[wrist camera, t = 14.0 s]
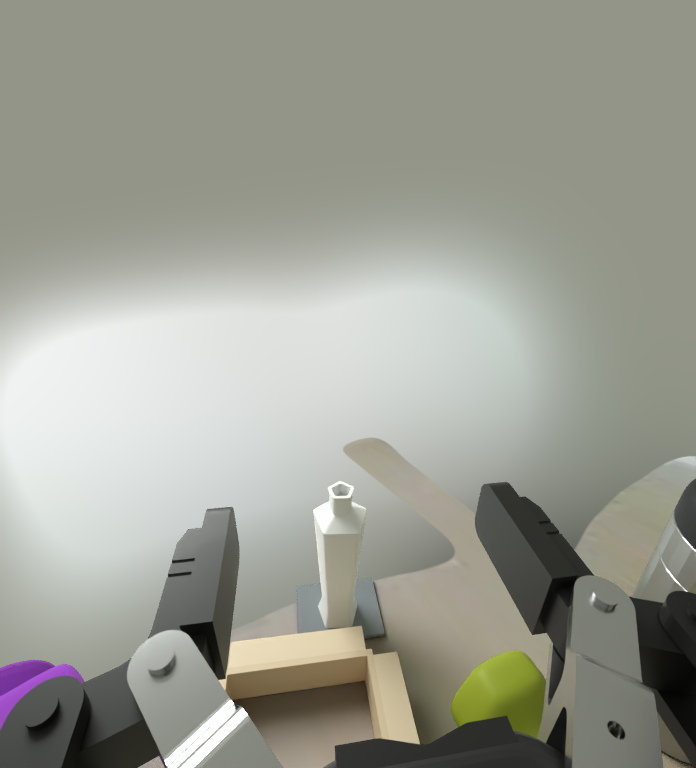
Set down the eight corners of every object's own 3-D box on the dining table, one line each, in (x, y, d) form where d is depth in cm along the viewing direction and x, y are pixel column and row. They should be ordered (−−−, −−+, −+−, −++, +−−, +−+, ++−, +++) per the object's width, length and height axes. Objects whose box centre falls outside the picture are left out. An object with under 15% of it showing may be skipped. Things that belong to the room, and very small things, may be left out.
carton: (386, 646, 37) (389, 622, 35) (453, 938, 22) (462, 918, 21) (204, 671, 34) (199, 646, 33) (149, 1013, 20) (135, 997, 18)
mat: (371, 580, 43) (372, 577, 43) (384, 635, 37) (384, 633, 37) (296, 588, 42) (296, 586, 41) (298, 647, 36) (298, 644, 36)
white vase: (359, 588, 41) (366, 471, 35) (363, 629, 37) (371, 506, 31) (314, 589, 41) (313, 472, 35) (314, 632, 37) (312, 508, 31)
